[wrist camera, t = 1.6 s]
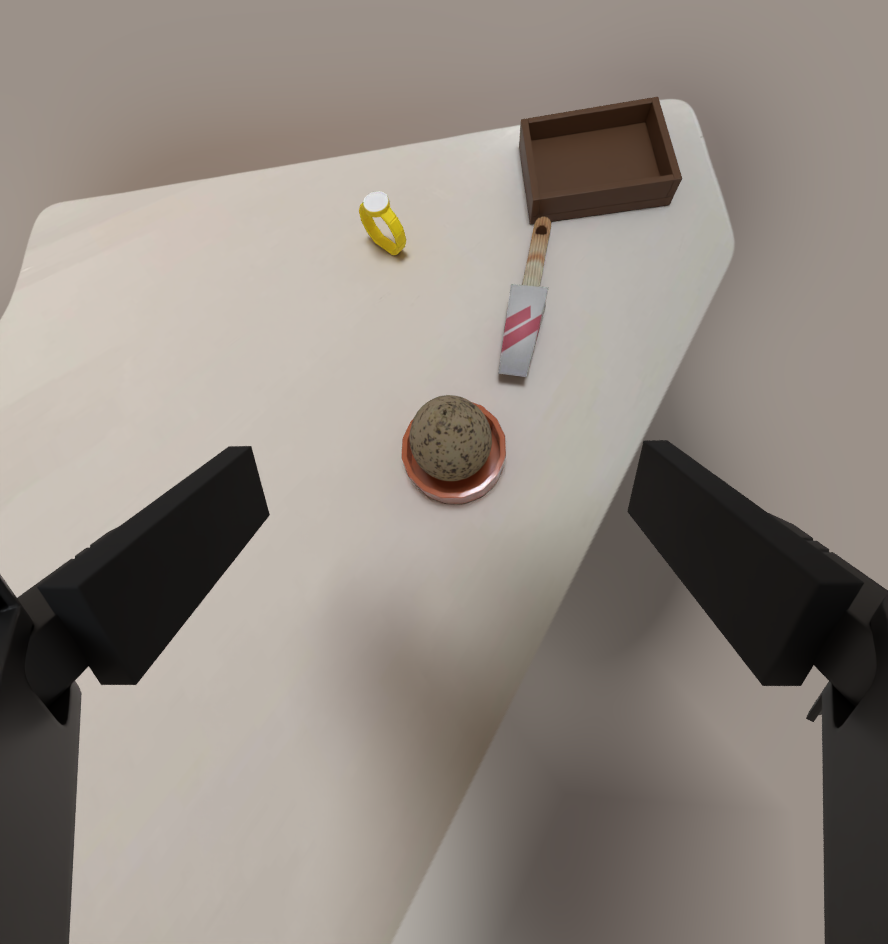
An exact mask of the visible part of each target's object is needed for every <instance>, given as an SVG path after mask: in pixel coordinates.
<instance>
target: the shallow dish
mask: <svg viewBox="0 0 888 944" xmlns="http://www.w3.org/2000/svg"><path fill="white" fill-rule="evenodd" d="M473 404H475V403H473ZM475 405H476V406H477V407H478V408H479V409H480V410H481V411H482V412H483V414H484V415H485V417H486V418H487V420H488V423H489V425H490V429H491V434H492V447H491V451H490V454H489V456H488V459H487V461H486V462H485V464H484V465H483V466H482V468H481V469H480V470H479V471H477V472H476V473H475V474H474V475H472V476H470V477H468V478H466V479H462V480H459V481H444V480H440V479H437V478H435V477H432V476H431V475H429V474H428V473H426V472H425V471H424V470H423V469H422V468H421V467H420V466H419V465H418V463H417V462H416V460H415V458H414V456H413V454H412V451H411V447H410V437H409V436H410V428H411V424H412V422H413V420H412V421H411V422H410V424H409V426H408V428H407V430H406V433H405V435H404V437H403V441H402V460H403V463H404V465H405V468H406V471H407V473H408V476H409V477H410V478H411V480H412V481H413V482H414V483H415V484H416V485H417V486H418V487H419V488H420V490H421V491H423V492H424V493H425V494H426V495H427V496H429V497H430V498H432V499H435V500H437V501H440V502H443V503H448V504H462V503H467V502H470V501H473V500H476V499H478V498H480V497H481V496H483V495H484V494H486V493H487V492H488V491H489V490H490V489H491V488H492V487H493V486H494V485H495V483H496V482H497V481H498V479H499V477H500V475H501V472H502V469H503V466H504V463H505V456H506V450H505V435H504V433H503V431H502V429H501V427H500V424H499V422H498V420H497V419H496V418H495V417H494V416H493V415H492V414H491V413H490V412H488V411H487V410H486V409H485V408H484V407H483V406H481V405H478V404H475Z"/></svg>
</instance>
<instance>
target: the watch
mask: <svg viewBox="0 0 888 944" xmlns="http://www.w3.org/2000/svg"><path fill="white" fill-rule="evenodd" d="M359 214H360V218H361V221H362V224H363V225H364V227H365V229H366V231H367V232H368V234H369V236H370V237H371V238H372V240H373V241H374V242H375V243H376V245H377V244H378V245H379V246H380V247H382V248H383V249H384V250H386V251H387V252H389V253H390V254H391V255H397V254H398V253H399V252H400V251H401V250H402V249H403V248H404V247H405V244H406V237H405V233H404V230H403V227H402V225H401V223H400V221H399V219H398V217H396V215H395V213H394V212H393V211H392V210H391V208H390V203H389V199H388V196H387V195H386V194H385V193H383V192H379V191H377V192H372V193H370V194H369V195H367V196H366V197H365V199H364V202H363V203H362V204H361V205H360V208H359ZM372 217H381V218H382V219H383V220H384V221H385V223H386V224H387V225H388V227H389V229H390V230H391V232H392V234H393V236H394V238H395V242H396V244H395V243H394V242H392V241H391V240H390V239H388V238H387V237H385V236H384V235H383V234H382V233H381V231H380V230H379V229H378V227H377V226H376V224H375V222H374V220H373V218H372Z"/></svg>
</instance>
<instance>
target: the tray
mask: <svg viewBox="0 0 888 944" xmlns="http://www.w3.org/2000/svg"><path fill="white" fill-rule="evenodd" d="M519 149H520V156H521V163H522V170H523V177H524V185H525V192H526V199H527V206H528V213H529V220H530V224H535V222H536V220H538V218H541V217H547V218H548V219H550V221H558V220H565V219H572V218H580V217H587V216H594V215H601V214H608V213H615V212H622V211H630V210H637V209H644V208H651V207H658V206H665V205H670V203H671V201H672V199H673V196H674V194H675V192H676V190H677V188H678V186H679V184H680V182H681V180H682V176H681V173H680V170H679V166H678V163H677V159H676V156H675V153H674V149H673V146H672V142H671V139H670V136H669V132H668V129H667V125H666V122H665V119H664V115H663V112H662V108H661V105H660V102H659V98H658V97H654V98H647V99H641V100H636V101H629V102H623V103H617V104H611V105H606V106H599V107H593V108H587V109H582V110H575V111H569V112H564V113H558V114H551V115H545V116H540V117H533V118H528V119H522V120H521V127H520V141H519Z"/></svg>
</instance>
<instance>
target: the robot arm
mask: <svg viewBox="0 0 888 944" xmlns="http://www.w3.org/2000/svg"><path fill="white" fill-rule="evenodd" d="M628 513H629V514H630V516H631V517H632V518H633V519H634V521H635V522H636V523H637V524H638V526H639V527H640V528H641V530H642V531H643V532H644V534H645V535H646V536H647V537H648V539H649V540H650V541H651V543H652V544H653V545H654V546H655V548H656V549H657V550H658V552H659V553H660V554H661V555H662V557H663V558H664V559H665V561H666V562H667V563H668V564H669V566H670V567H671V568H672V569H673V571H674V572H675V573H676V575H677V576H678V577H679V579H680V580H681V581H682V582H683V584H684V585H685V586H686V588H687V589H688V590H689V591H690V593H691V594H692V595H693V597H694V598H695V599H696V601H697V602H698V603H699V604H700V606H701V607H702V608H703V609H704V611H705V612H706V613H707V615H708V616H709V617H710V618H711V620H712V621H713V622H714V624H715V625H716V626H717V628H718V629H719V630H720V631H721V633H722V634H723V635H724V637H725V638H726V639H727V640H728V642H729V643H730V644H731V645H732V647H733V648H734V649H735V651H736V652H737V653H738V654H739V656H740V657H741V658H742V660H743V661H744V662H745V664H746V665H747V666H748V667H749V669H750V670H751V671H752V673H753V674H754V675H755V676H756V678H757V679H758V680H759V682H760V683H761V684H762V685H763V686H801V685H802V683H803V682H804V680H805V678H806V677H807V675H808V674H809V672H810V670H811V669H812V667H813V665H814V666H815V667H816V668H817V669H818V670H819V671H820V672H821V673H822V674H823V675H824V676H825V677H826V678H827V679H828V680H829V682H828V684H827V685H826V687H825V688H824V690H823V691H822V693H821V694H820V696H819V697H818V699H817V700H816V702H815V703H814V705H813V706H812V708H811V709H810V711H809V713H808V715H807V718H806V719H808V720H810V721H812V722H814V720H815V719H816V718H817V716H818V715H821V714H822V745H823V746H822V747H823V749H822V750H823V751H822V752H823V830H824V831H823V834H824V909H825V910H824V913H825V914H824V915H825V916H824V917H825V944H888V590H886V589H885V588H883V587H882V586H880V585H879V584H878V583H876V582H875V581H873V580H872V579H870V578H869V577H868V576H866V575H865V574H863V573H862V572H860V571H859V570H858V569H856V568H855V567H853V566H852V565H850V564H849V563H847V562H846V561H845V560H843V559H842V558H841V557H839V556H837V555H836V554H835V553H833V552H831V553H830V552H829V549H828V548H826V547H825V546H823V545H822V544H820V543H819V542H818V541H813V538H812V537H811V536H809V535H808V534H806V533H805V532H803V531H802V530H800V529H799V528H798V527H796V526H795V525H793V524H791V523H789V522H787V521H785V520H783V519H780V518H778V517H776V516H774V515H771V514H770V513H767V512H766V511H764V510H763V509H761V508H760V507H759V506H757V505H756V504H755V503H753V502H752V501H751V500H749V499H748V498H746V497H745V496H744V495H742V494H741V493H739V492H738V491H737V490H735V489H734V488H732V487H731V486H729V485H728V484H727V483H726V482H724V481H723V480H721V479H720V478H718V477H717V476H716V475H714V474H713V473H711V472H710V471H709V470H707V469H706V468H704V467H703V466H702V465H701V464H699V463H698V462H696V461H695V460H694V459H692V458H691V457H689V456H688V455H687V454H685V453H684V452H683V451H681V450H680V449H678V448H677V447H676V446H674V445H673V444H671V443H670V442H669V441H666V440H665V441H663V440H660V441H643V446H642V450H641V454H640V459H639V463H638V468H637V472H636V476H635V481H634V485H633V489H632V494H631V499H630V503H629V507H628ZM269 515H270V514H269V511H268V507H267V503H266V500H265V496H264V492H263V488H262V485H261V481H260V477H259V473H258V470H257V466H256V462H255V459H254V455H253V451H252V447H251V446H232V447H228V448H226V449H225V450H223V451H222V452H221V453H219V454H218V455H217V456H215V457H214V458H213V459H211V460H210V461H208V462H207V463H206V464H204V465H203V466H202V467H200V468H199V469H197V470H196V471H195V472H193V473H192V474H191V475H189V476H188V477H186V478H185V479H184V480H182V481H181V482H180V483H178V484H177V485H176V486H174V487H173V488H171V489H170V490H169V491H167V492H166V493H165V494H163V495H162V496H160V497H159V498H158V499H156V500H155V501H154V502H152V503H151V504H149V505H148V506H147V507H145V508H144V509H143V510H141V511H140V512H139V513H137V514H136V515H134V516H133V517H132V518H130V519H129V520H128V521H126V522H125V523H123V524H122V525H121V526H119V527H117V528H115V529H113V530H111V531H109V532H108V533H106V534H105V535H104V536H102V537H101V538H99V539H98V540H97V541H95V542H94V543H92V544H91V545H90V548H86V549H84V550H83V551H81V552H80V553H79V554H77V555H76V556H75V559H70V560H69V561H68V562H66V563H65V564H63V565H62V566H61V567H59V568H58V569H56V570H55V571H54V572H52V573H51V574H50V575H48V576H47V577H45V578H44V579H43V580H41V581H40V582H38V583H37V584H36V585H34V586H33V587H32V588H30V589H29V590H27V591H26V592H25V593H23V594H22V595H21V596H19V597H18V598H17V597H16V596H15V595H14V593H13V592H12V590H11V589H10V588H9V586H8V585H7V583H6V582H5V580H4V579H3V578H2V576H1V575H0V944H69V932H70V912H71V892H72V872H73V852H74V832H75V812H76V792H77V773H78V753H79V733H80V713H81V691H80V688H79V686H78V685H77V683H76V682H75V680H76V679H77V678H78V677H79V676H80V675H81V674H82V673H83V671H84V670H85V669H86V668H87V667H88V666H89V667H90V669H91V670H92V672H93V673H94V675H95V676H96V678H97V679H98V681H99V682H100V684H101V685H136V684H137V683H138V682H139V681H140V679H141V678H142V677H143V675H144V674H145V673H146V672H147V670H148V669H149V668H150V667H151V665H152V664H153V663H154V661H155V660H156V659H157V658H158V656H159V655H160V654H161V653H162V651H163V650H164V649H165V647H166V646H167V645H168V644H169V642H170V641H171V640H172V639H173V637H174V636H175V635H176V633H177V632H178V631H179V630H180V628H181V627H182V626H183V625H184V623H185V622H186V621H187V619H188V618H189V617H190V616H191V614H192V613H193V612H194V611H195V609H196V608H197V607H198V606H199V604H200V603H201V602H202V600H203V599H204V598H205V597H206V595H207V594H208V593H209V592H210V590H211V589H212V588H213V586H214V585H215V584H216V583H217V581H218V580H219V579H220V578H221V576H222V575H223V574H224V572H225V571H226V570H227V569H228V567H229V566H230V565H231V564H232V562H233V561H234V560H235V558H236V557H237V556H238V555H239V553H240V552H241V551H242V550H243V548H244V547H245V546H246V544H247V543H248V542H249V541H250V539H251V538H252V537H253V536H254V534H255V533H256V532H257V530H258V529H259V528H260V527H261V525H262V524H263V523H264V522H265V520H266V519H267V518H268V516H269Z"/></svg>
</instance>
